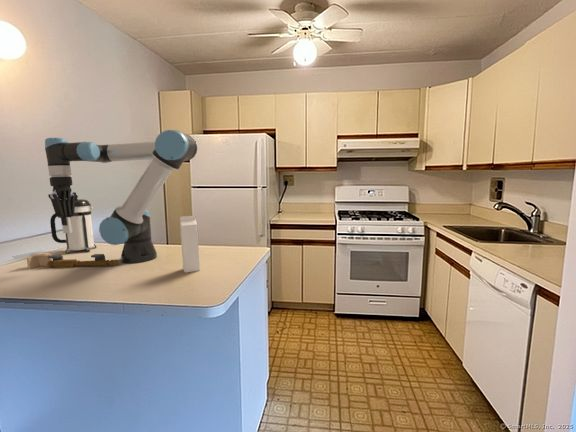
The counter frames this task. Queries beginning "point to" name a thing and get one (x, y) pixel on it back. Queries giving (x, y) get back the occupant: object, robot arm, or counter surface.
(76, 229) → the coffee press
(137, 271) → the counter surface
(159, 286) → the counter surface
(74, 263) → the tap handle
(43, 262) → the board
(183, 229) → the milk
